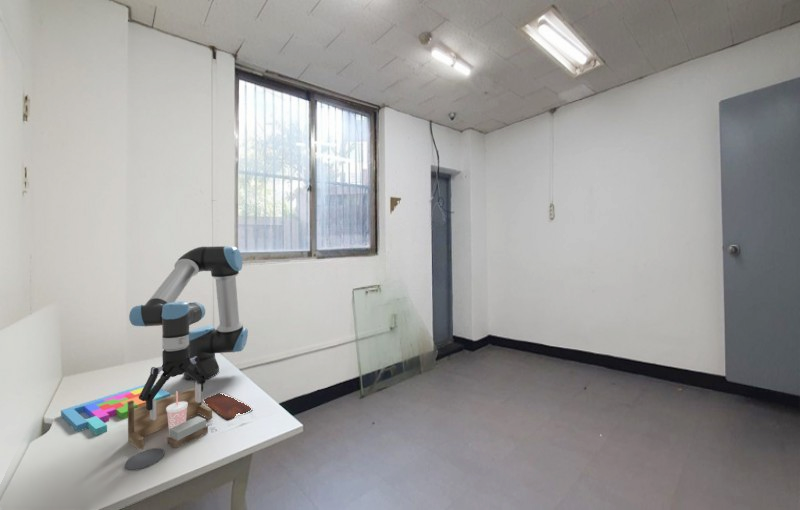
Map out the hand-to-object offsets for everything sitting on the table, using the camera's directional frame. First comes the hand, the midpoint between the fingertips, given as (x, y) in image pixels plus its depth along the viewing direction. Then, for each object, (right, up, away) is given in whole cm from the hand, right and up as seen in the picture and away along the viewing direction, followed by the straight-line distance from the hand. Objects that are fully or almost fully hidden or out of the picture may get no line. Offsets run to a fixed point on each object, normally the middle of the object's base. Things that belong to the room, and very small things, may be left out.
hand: (176, 409), depth 107 cm
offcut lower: (+6, -8, -3) cm, 11 cm away
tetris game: (-32, -8, +15) cm, 36 cm away
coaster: (+1, -8, -14) cm, 16 cm away
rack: (-3, -8, +2) cm, 8 cm away
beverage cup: (0, -8, 0) cm, 8 cm away
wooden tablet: (+6, -8, +19) cm, 22 cm away
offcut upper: (+6, -6, -3) cm, 9 cm away
